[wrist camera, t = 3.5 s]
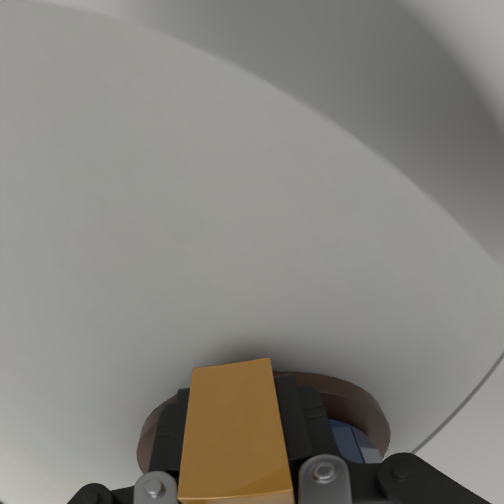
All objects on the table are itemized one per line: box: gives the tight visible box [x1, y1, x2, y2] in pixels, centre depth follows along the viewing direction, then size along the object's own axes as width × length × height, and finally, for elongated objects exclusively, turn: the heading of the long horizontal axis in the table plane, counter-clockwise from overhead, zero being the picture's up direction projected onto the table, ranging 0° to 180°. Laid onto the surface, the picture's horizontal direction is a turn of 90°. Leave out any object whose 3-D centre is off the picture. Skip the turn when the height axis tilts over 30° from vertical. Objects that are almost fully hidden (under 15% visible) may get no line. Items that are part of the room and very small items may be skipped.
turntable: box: [137, 372, 390, 474], centre depth 14 cm, size 14×14×1 cm
